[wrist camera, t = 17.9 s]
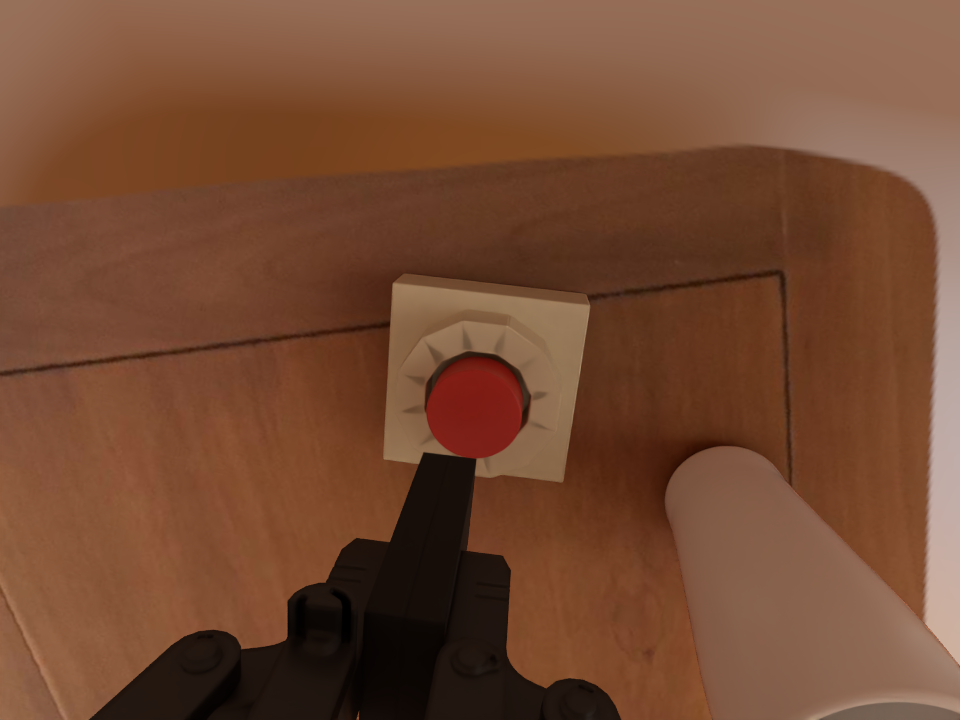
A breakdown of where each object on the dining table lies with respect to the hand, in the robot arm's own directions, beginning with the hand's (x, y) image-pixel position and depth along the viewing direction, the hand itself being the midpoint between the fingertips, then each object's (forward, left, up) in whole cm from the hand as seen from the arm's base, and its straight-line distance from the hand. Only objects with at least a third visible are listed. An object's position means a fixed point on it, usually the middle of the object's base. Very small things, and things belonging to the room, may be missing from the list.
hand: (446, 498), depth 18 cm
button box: (0, 0, -12) cm, 12 cm away
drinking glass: (-12, +5, -12) cm, 17 cm away
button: (0, 0, -8) cm, 8 cm away
